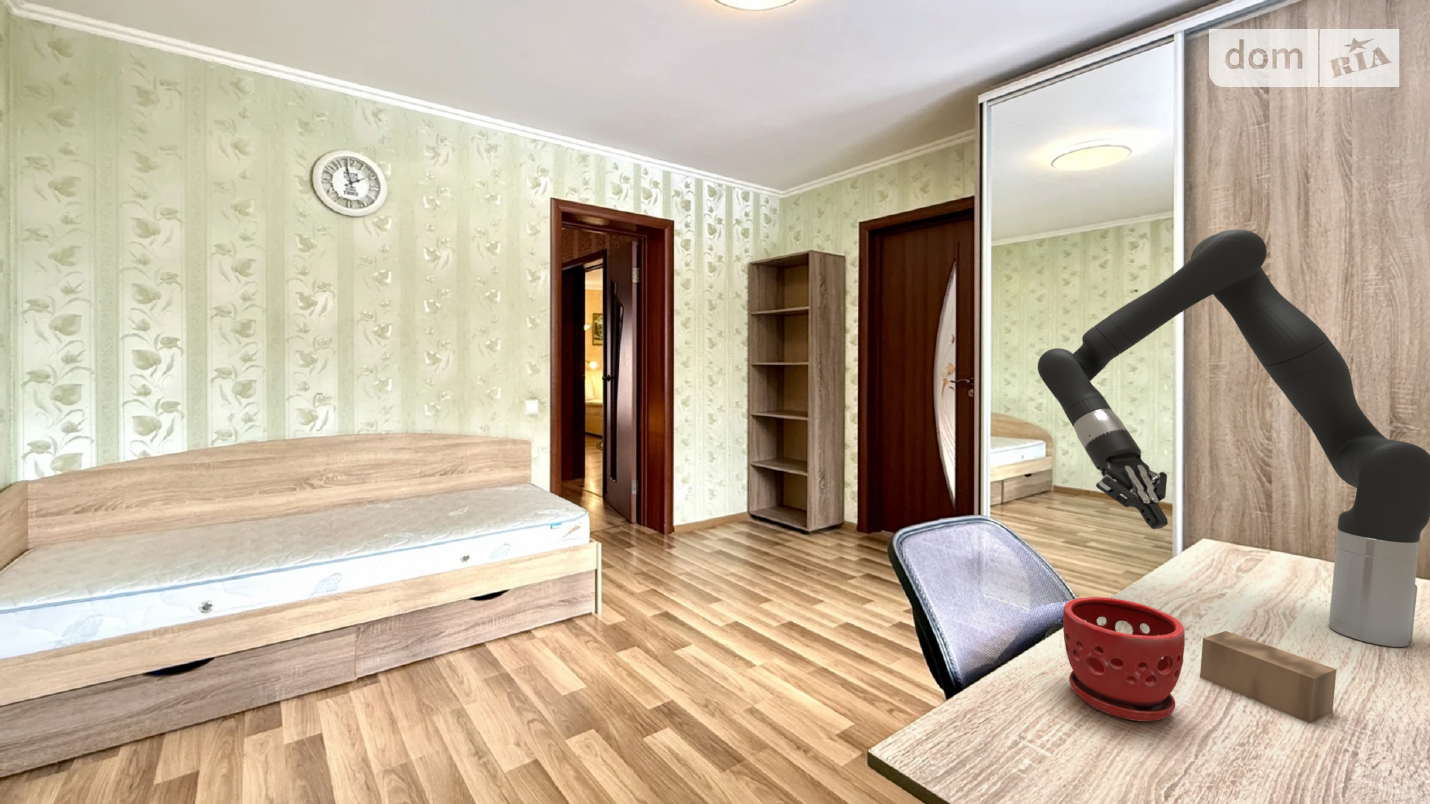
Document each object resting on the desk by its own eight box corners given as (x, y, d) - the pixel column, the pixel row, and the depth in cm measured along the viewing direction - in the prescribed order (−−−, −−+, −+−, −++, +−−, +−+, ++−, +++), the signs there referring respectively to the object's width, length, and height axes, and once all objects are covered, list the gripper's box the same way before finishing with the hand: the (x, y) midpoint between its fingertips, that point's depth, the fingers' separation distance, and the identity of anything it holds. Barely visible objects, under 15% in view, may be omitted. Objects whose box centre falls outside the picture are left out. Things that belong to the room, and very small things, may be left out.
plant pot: (1088, 667, 89) (1094, 588, 88) (1196, 712, 77) (1203, 621, 77) (1039, 692, 82) (1044, 605, 81) (1150, 745, 70) (1157, 645, 70)
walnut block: (1226, 630, 89) (1336, 669, 78) (1222, 670, 89) (1332, 714, 78) (1202, 637, 86) (1313, 678, 75) (1199, 678, 86) (1309, 724, 76)
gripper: (1086, 430, 106) (1141, 520, 96) (1150, 425, 108) (1211, 513, 98) (1062, 453, 112) (1111, 540, 101) (1123, 448, 114) (1178, 533, 104)
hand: (1160, 526), depth 100 cm, fingers closed
